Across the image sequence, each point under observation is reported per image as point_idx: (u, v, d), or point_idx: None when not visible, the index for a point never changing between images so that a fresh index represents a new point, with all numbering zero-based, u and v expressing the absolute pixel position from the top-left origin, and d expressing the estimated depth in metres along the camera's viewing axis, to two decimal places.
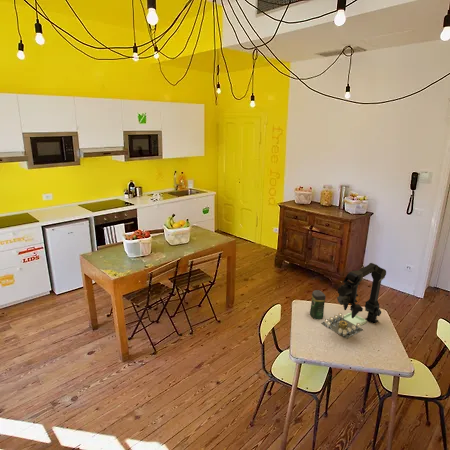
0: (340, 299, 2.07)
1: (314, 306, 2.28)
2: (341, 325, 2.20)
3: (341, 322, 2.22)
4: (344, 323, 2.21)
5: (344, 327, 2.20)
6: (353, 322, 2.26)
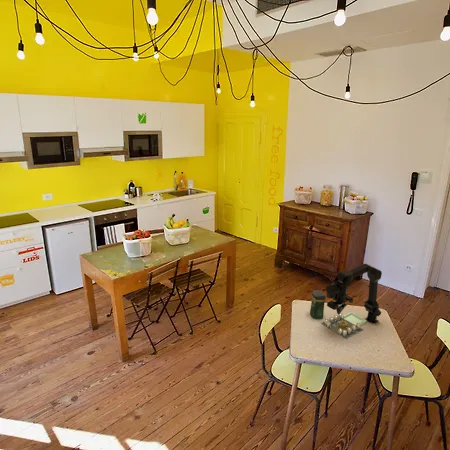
0: None
1: (314, 306, 2.28)
2: (341, 325, 2.20)
3: (341, 322, 2.22)
4: (344, 323, 2.21)
5: (344, 327, 2.20)
6: (353, 322, 2.26)
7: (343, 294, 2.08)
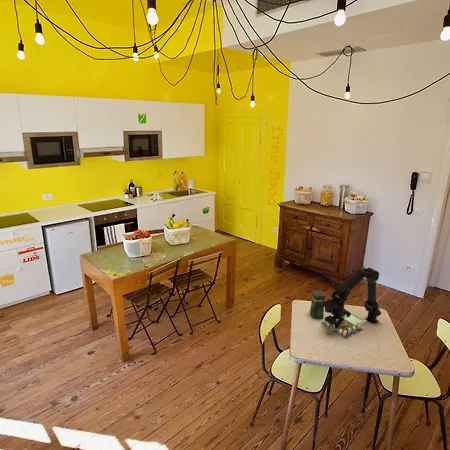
0: None
1: (314, 306, 2.28)
2: (341, 325, 2.20)
3: None
4: (344, 323, 2.21)
5: (344, 327, 2.20)
6: (353, 322, 2.26)
7: (341, 309, 2.11)
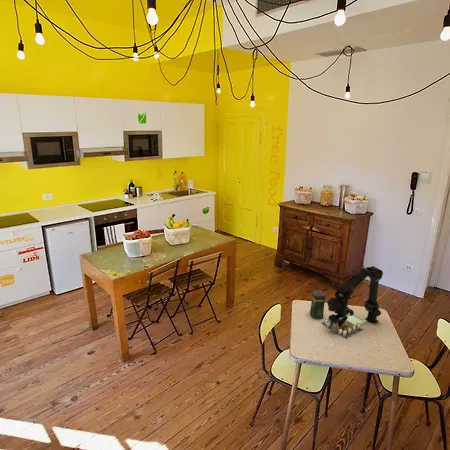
0: None
1: (314, 306, 2.28)
2: None
3: None
4: (344, 323, 2.21)
5: (344, 327, 2.20)
6: (353, 322, 2.26)
7: (344, 307, 2.13)
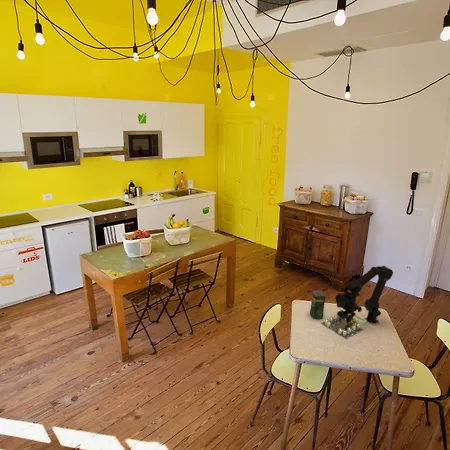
0: None
1: (314, 306, 2.28)
2: None
3: None
4: (352, 319, 2.25)
5: (352, 323, 2.24)
6: None
7: (352, 304, 2.17)
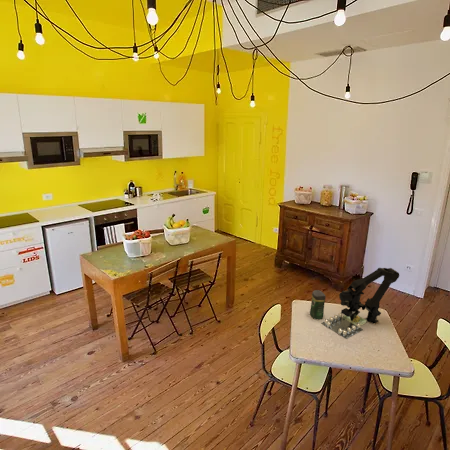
0: None
1: (314, 306, 2.28)
2: None
3: None
4: (356, 317, 2.28)
5: (356, 321, 2.27)
6: (353, 322, 2.26)
7: (357, 302, 2.20)
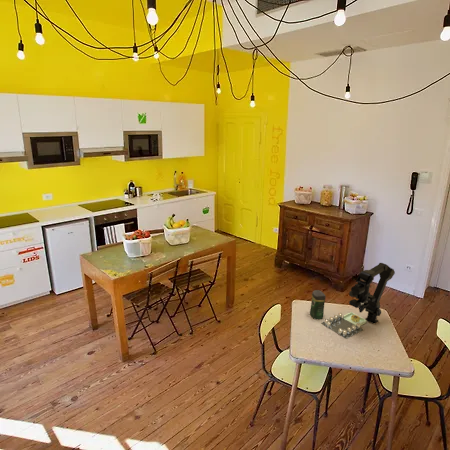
0: None
1: (314, 306, 2.28)
2: (353, 319, 2.27)
3: (353, 316, 2.29)
4: (356, 317, 2.28)
5: (356, 321, 2.27)
6: (353, 322, 2.26)
7: (365, 293, 2.10)
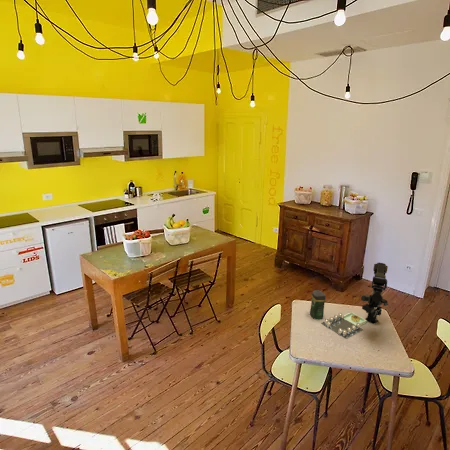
0: (363, 295, 2.15)
1: (314, 306, 2.28)
2: (353, 319, 2.27)
3: (353, 316, 2.29)
4: (356, 317, 2.28)
5: (356, 321, 2.27)
6: (353, 322, 2.26)
7: None
